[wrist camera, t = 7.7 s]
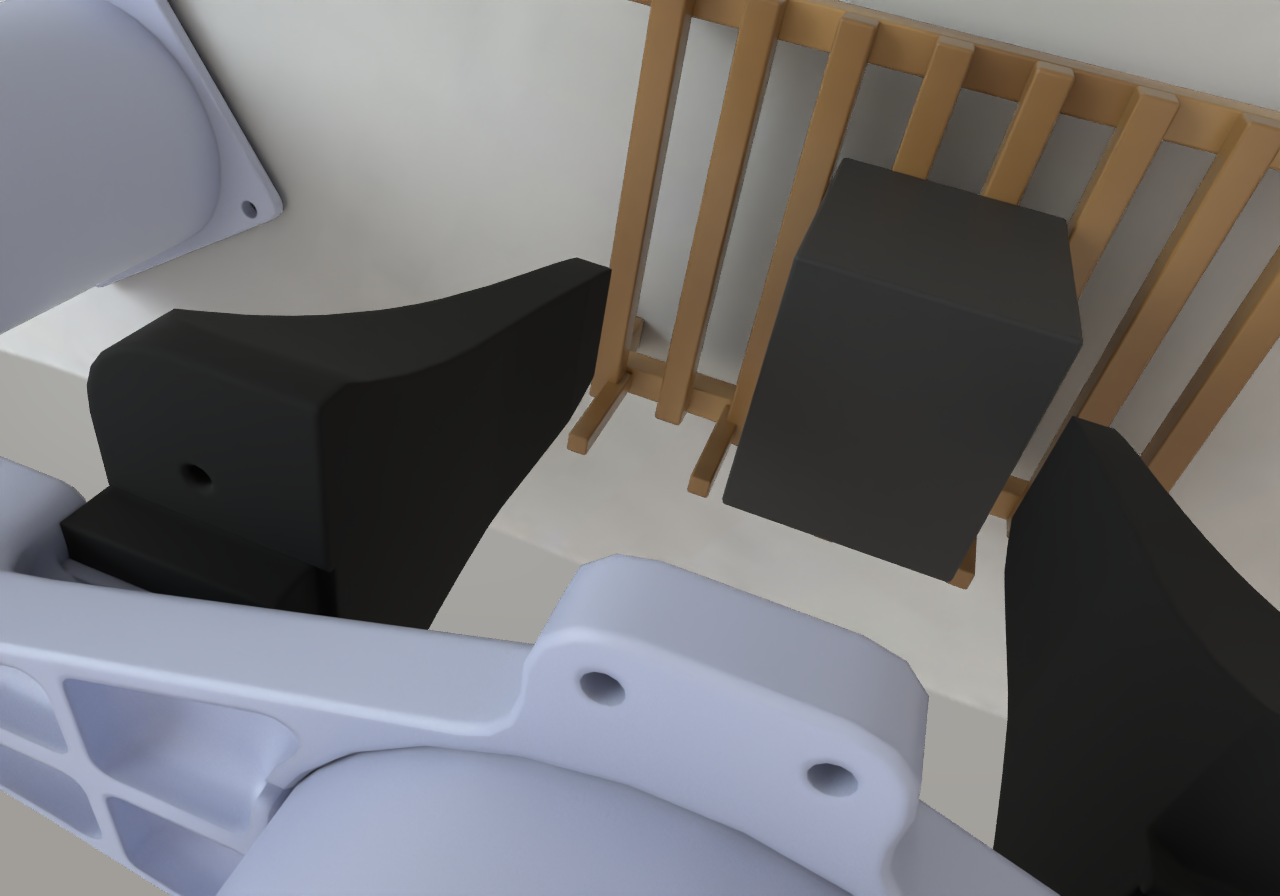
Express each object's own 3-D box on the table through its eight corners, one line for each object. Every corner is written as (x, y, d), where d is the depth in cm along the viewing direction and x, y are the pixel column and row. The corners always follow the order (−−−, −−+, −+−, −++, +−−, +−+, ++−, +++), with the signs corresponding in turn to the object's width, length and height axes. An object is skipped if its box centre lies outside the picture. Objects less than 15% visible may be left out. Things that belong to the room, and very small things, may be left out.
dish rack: (599, 335, 26) (516, 440, 21) (663, -64, 19) (564, -30, 15) (1132, 510, 23) (1161, 668, 19) (1401, 119, 17) (1536, 222, 13)
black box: (775, 372, 21) (720, 504, 17) (843, 155, 18) (794, 254, 14) (962, 432, 20) (950, 585, 16) (1067, 218, 17) (1086, 341, 13)
